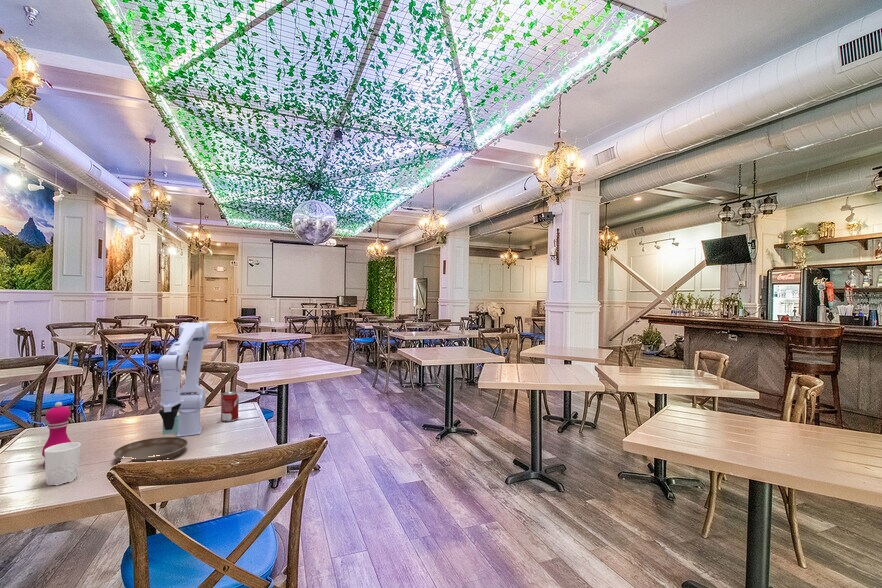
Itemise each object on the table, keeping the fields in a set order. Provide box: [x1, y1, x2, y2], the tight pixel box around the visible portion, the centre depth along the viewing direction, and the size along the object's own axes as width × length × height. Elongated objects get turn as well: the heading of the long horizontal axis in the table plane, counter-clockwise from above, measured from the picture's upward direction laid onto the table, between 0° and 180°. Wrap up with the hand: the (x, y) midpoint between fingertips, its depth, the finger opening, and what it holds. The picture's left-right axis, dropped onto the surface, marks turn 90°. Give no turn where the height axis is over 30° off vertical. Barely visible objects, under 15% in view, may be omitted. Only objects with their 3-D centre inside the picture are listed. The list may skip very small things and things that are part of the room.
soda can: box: [220, 391, 240, 423], centre depth 180 cm, size 7×7×12 cm
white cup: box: [44, 441, 82, 486], centre depth 120 cm, size 8×8×10 cm
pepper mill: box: [41, 401, 72, 468], centre depth 132 cm, size 7×7×20 cm
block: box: [162, 414, 180, 436], centre depth 144 cm, size 4×4×5 cm
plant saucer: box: [113, 436, 188, 462], centre depth 140 cm, size 21×21×3 cm
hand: (169, 427), depth 143 cm, fingers closed on block, 4 cm apart
